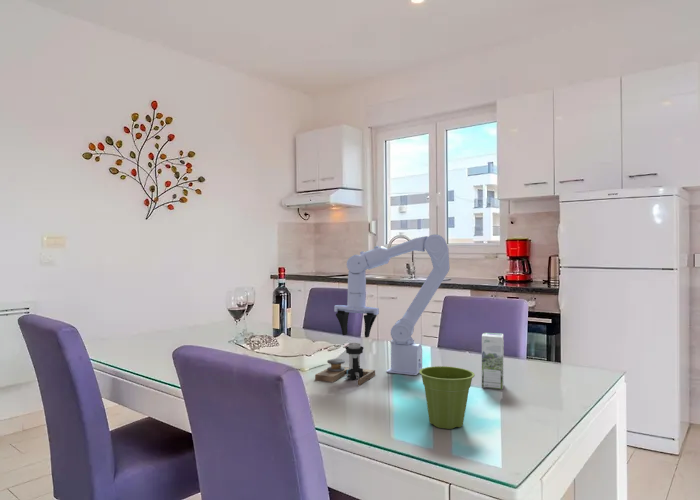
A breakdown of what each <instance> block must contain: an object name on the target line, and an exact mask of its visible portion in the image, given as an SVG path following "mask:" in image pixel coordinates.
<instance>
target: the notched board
mask: <svg viewBox="0 0 700 500" xmlns="http://www.w3.org/2000/svg"><path fill="white" fill-rule="evenodd" d="M344 363H345V359H341V358H333V359H328V360H327V364H330V366H328V367H327V368H326V369H323V370H322V371H320V372H318V373H315V375H314V380H315V381H321V382H322V381H323V382H330V383H334V382H336V381H337V380H340V379H342V377H343V378H344V377H345V376H344V375H346V374H347V370H348V369H349V366H348V367H347V366H342V364H344ZM362 369H363V377H361V378H358V379H357V386H362V384H364V383H365V382H367V381H369V380H370V379H372V378H373V377H375V376H376V370H375V369H368V368H367V369H366V368H362Z"/></svg>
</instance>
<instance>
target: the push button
mask: <svg viewBox="0 0 700 500" xmlns="http://www.w3.org/2000/svg"><path fill="white" fill-rule="evenodd" d="M364 348H365V347H364V346H362V345H361V343H359V342H350V343H348V344H347V346H345V348H344V349H345V350H346V351H345V352H346V354H348V367H349V369H348V370H347V374H346V375H344V376H343V380H352V381H353V380H358V379H360V378H361V377H363V369H364V368H362V367H361V365H360V364H361V363H360V362H361V361H360V360H361V359H360V356H361V354H363V352H364V351H363V350H364Z"/></svg>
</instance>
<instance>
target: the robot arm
mask: <svg viewBox="0 0 700 500" xmlns="http://www.w3.org/2000/svg"><path fill="white" fill-rule="evenodd" d="M414 251H416V252H422V253H424V252H426V253H427V255H428V256H429V257H430V261H431V265H432V270H431V271H430V273H429V274H428V276H427V277H426V278H425V279H426V280H425V281H424V283H423V284H422V286H421V287H420V289H419V290H418V292H417V293H416V295H415V297H414V299H412V302H411V303H410V305H409V306H408V308H407V310H406V311H405V313H403V316H402V317H401V318H400V319H398V320H397V321H396V322H395V323H394V325H393V326H392V327H391V329H390V336H391V340H390V368H388V369H386V371H385V372H386V373H391V374H399V375H411V376H417V375H418V374H420V373H419V371H420V370H421V369H423V368H424V367H423V348H422V347H423V346H422V344H420V343H416V342H415V339H414V338H413V337H412V335H413V333H414V329H415V326H416V324H417V322H418V321H419V319H420V317H421V316H422V314H423V313H424V311H425V309H426V308H427V307H428V305H429V303H430V302H431V300H432V298H433V297H434V296H435V294H436V292H437V290H438V289H439V287H440V286H441V284H442V283H443V281H444V280H445V278H446V277H447V275H448V273H449V271H450V252H449V251H450V250H449V246H448V244H447V241H446V239H445V238H444V237H443V236H442V235H440V234H435V233H434V234H430V235H428V236H419V237H416V238H412V239H409V240H406V241H404V242H402V243H399V244H395V245H394V246H391V247H388V248H387V247H385V246H383V245H381V246H379V245H375V246H374V247H373V248H372V249H370V250H367V251H359V254H353V255H352V256H350V257H349V258H348V259H347V260H346V261H347V262H346V268H347V270H348V272H347V276H348V278H347V303H346V304H347V305H343V304H336V305H334V306H333V307H334V308H333V309H334V313H335V312H336V313H335V317H336V318H337V320H338V321H337V322H339V326H340V329H341V335H342V336H346V335H348V321H349V315H350V314H351V313H354V314H364V315H363V321H364V338H369V337H370V335H371V334H370V333H371V329H372V328H373V324H374V322H375V321H376V318H377V316H378V315H379V313H380V308H379V307H371V306H366V300H367V299H366V297H367V296H366V295H367V292H366V291H367V290H366V289H367V278H366V271H367V270H372V269H375V268H378V267H382V266H384V265H387V264H389V262H390V260H391V258H395V257H398V256H400V255H401V256H402V255H404V254H407V253H408V254H409V253H411V252H414Z"/></svg>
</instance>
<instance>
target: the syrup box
mask: <svg viewBox="0 0 700 500" xmlns="http://www.w3.org/2000/svg"><path fill="white" fill-rule="evenodd" d="M504 338H505V337H504V333H500V332H499V333H498V332H497V333H496V332H494V333H493V332H483V333H482V334H481V388H484V389H492V390H503V389H504V355H505V354H504V349H505V348H504V347H505V346H504V344H505V341H504V340H505V339H504Z"/></svg>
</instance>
